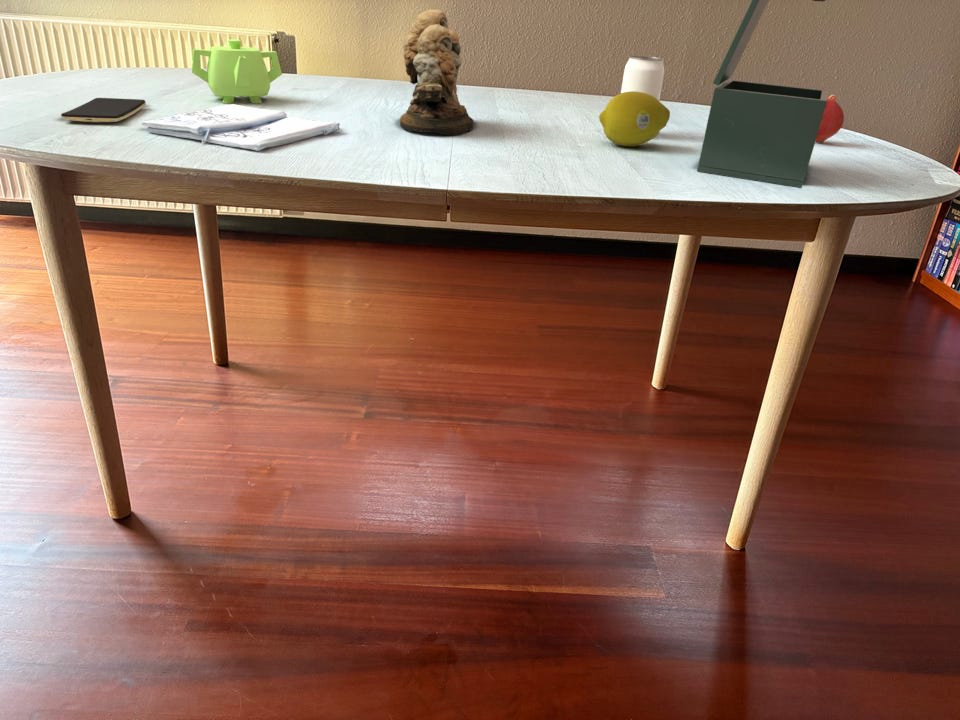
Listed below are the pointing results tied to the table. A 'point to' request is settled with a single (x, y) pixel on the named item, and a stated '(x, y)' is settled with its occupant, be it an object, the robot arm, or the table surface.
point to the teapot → (237, 71)
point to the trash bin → (762, 131)
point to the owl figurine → (434, 77)
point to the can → (643, 75)
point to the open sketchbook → (240, 127)
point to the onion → (830, 120)
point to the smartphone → (104, 110)
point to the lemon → (633, 118)
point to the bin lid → (740, 40)
